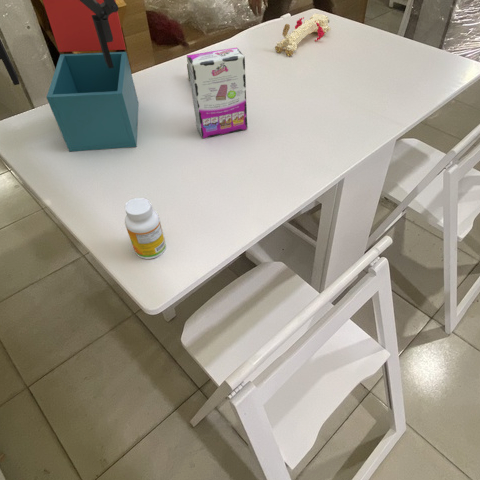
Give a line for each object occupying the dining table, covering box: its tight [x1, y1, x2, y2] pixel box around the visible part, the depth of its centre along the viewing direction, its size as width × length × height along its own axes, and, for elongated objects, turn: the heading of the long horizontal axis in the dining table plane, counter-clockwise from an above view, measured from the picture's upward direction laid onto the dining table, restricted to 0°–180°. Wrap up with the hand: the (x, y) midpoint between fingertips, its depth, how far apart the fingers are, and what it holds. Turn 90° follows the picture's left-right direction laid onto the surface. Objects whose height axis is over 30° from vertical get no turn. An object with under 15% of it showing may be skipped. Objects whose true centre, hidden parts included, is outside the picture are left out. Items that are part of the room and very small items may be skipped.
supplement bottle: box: [124, 197, 167, 260], centre depth 66 cm, size 5×5×10 cm
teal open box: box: [46, 51, 139, 152], centre depth 88 cm, size 19×14×12 cm
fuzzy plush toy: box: [274, 12, 332, 58], centre depth 123 cm, size 10×9×25 cm
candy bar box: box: [186, 47, 248, 139], centre depth 87 cm, size 11×5×16 cm, turn 114°
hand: (64, 72), depth 61 cm, fingers open, 13 cm apart
